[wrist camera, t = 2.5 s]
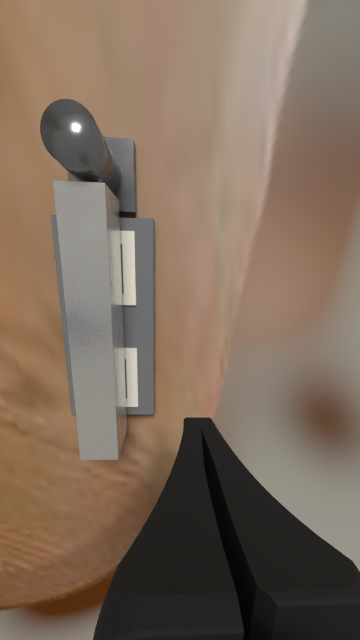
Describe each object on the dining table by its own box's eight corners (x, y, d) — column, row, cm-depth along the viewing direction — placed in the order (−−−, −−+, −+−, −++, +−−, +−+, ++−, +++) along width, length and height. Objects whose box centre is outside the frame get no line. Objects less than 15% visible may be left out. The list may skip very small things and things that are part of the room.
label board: (154, 408, 22) (153, 416, 21) (76, 408, 22) (70, 416, 21) (154, 221, 18) (153, 217, 17) (57, 217, 18) (48, 214, 16)
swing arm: (126, 429, 21) (118, 459, 17) (95, 429, 20) (80, 459, 17) (118, 200, 16) (104, 182, 13) (77, 198, 16) (53, 180, 12)
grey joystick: (136, 214, 18) (118, 187, 12) (75, 212, 18) (27, 183, 12) (135, 144, 17) (115, 78, 11) (69, 141, 16) (13, 71, 11)
